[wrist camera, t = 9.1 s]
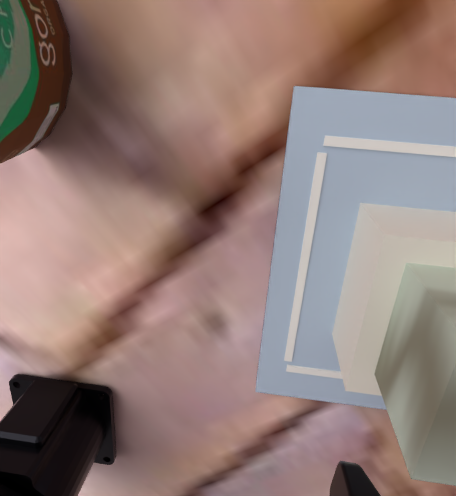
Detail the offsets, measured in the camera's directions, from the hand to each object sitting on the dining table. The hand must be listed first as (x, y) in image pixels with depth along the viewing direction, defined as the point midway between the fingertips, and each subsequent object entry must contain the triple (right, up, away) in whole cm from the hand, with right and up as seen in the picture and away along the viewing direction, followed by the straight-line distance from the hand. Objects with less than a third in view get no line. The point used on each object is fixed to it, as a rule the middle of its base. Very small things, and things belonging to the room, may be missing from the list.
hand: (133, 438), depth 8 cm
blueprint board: (+11, +3, +10) cm, 15 cm away
